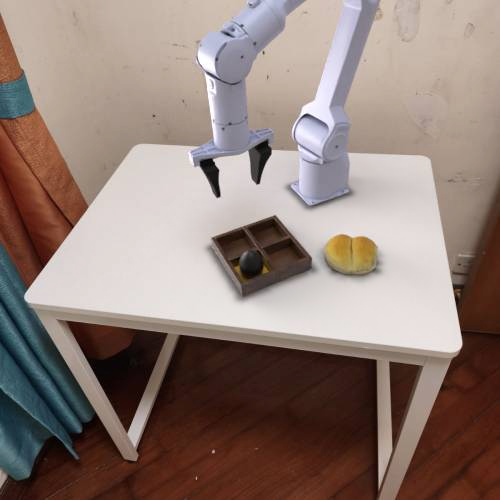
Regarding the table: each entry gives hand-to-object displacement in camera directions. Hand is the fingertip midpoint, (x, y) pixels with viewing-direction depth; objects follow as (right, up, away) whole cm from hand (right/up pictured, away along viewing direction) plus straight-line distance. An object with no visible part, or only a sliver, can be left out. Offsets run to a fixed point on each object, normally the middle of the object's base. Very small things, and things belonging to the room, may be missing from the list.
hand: (236, 188), depth 79 cm
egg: (+3, -15, -3) cm, 16 cm away
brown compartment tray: (+4, -12, 0) cm, 13 cm away
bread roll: (+20, -13, -1) cm, 24 cm away
